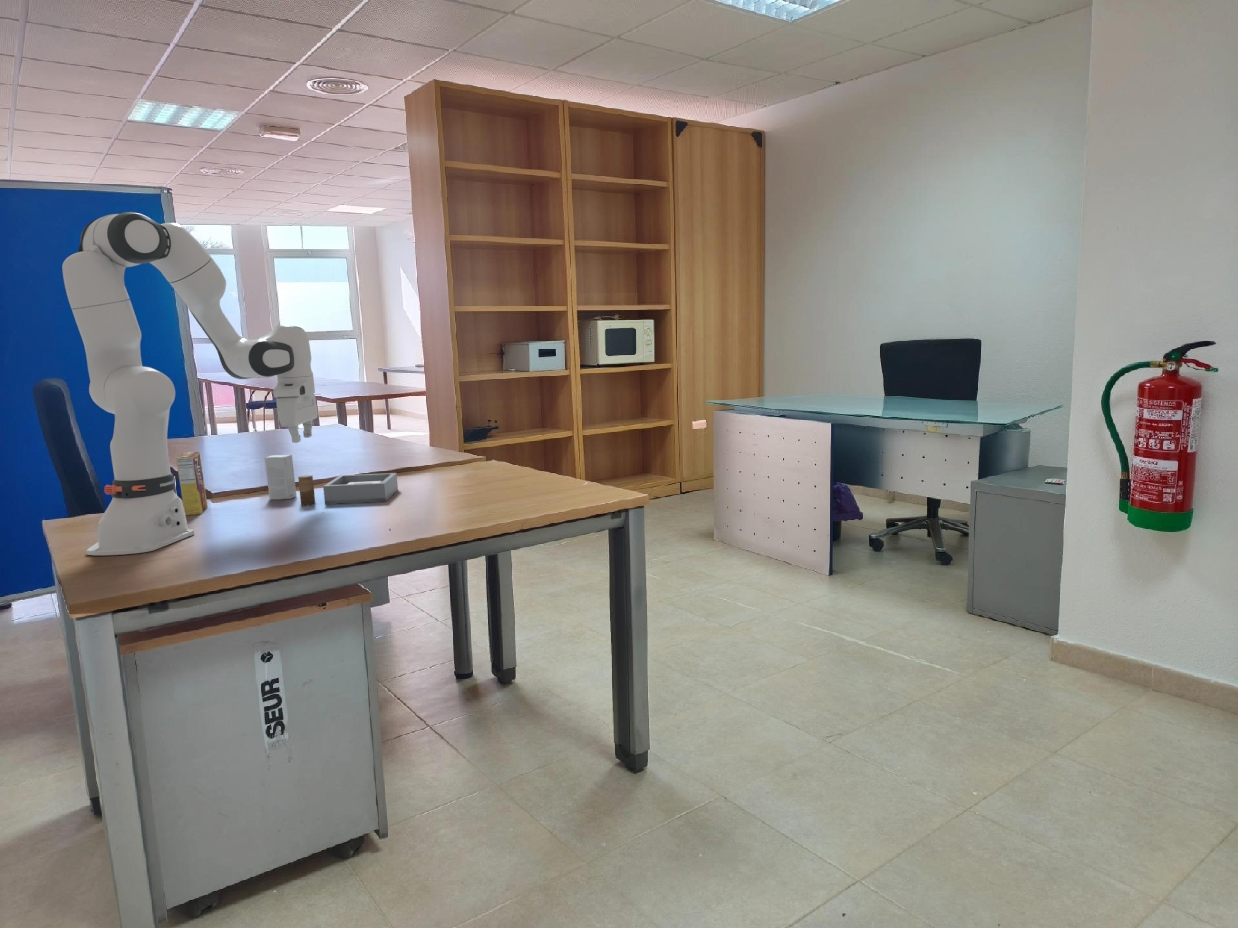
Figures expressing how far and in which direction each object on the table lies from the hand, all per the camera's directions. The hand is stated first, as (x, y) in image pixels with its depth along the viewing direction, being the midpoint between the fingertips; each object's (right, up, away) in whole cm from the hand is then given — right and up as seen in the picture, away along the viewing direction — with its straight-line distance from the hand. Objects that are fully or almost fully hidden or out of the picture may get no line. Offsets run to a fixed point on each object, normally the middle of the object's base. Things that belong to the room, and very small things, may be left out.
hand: (302, 439), depth 211 cm
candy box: (-27, -19, -2) cm, 33 cm away
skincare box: (-10, -16, +12) cm, 23 cm away
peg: (0, -17, +3) cm, 17 cm away
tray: (+13, -16, +10) cm, 22 cm away
